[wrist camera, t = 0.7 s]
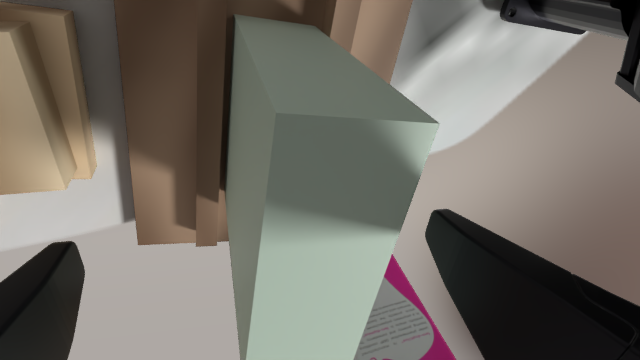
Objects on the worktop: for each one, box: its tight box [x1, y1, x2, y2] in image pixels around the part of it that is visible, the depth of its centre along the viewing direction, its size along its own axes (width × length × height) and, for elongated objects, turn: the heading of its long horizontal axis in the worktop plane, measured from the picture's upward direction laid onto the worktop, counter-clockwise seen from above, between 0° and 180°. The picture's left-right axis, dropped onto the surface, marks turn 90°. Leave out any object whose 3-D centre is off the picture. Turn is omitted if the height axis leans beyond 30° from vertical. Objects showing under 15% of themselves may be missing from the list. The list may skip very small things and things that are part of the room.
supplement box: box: [353, 254, 456, 360], centre depth 27 cm, size 6×6×12 cm
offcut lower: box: [0, 2, 97, 179], centre depth 17 cm, size 5×8×2 cm, turn 170°
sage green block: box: [224, 14, 439, 360], centre depth 16 cm, size 4×10×12 cm, turn 170°
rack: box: [114, 0, 413, 246], centre depth 20 cm, size 14×18×2 cm
